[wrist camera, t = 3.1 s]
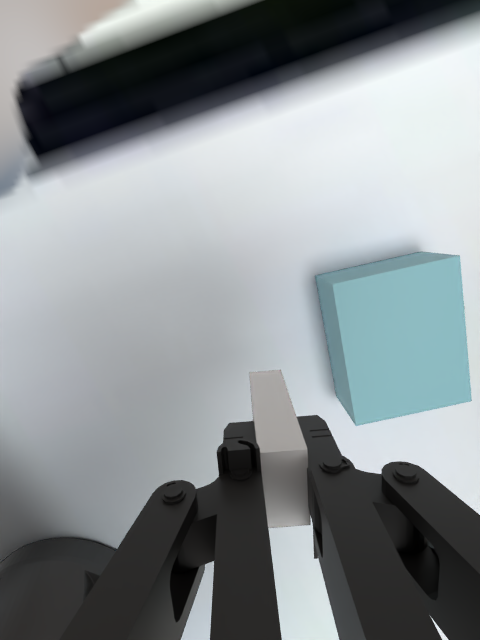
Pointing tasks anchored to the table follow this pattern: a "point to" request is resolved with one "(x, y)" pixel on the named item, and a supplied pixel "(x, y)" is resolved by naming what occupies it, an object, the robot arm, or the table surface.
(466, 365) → the block
